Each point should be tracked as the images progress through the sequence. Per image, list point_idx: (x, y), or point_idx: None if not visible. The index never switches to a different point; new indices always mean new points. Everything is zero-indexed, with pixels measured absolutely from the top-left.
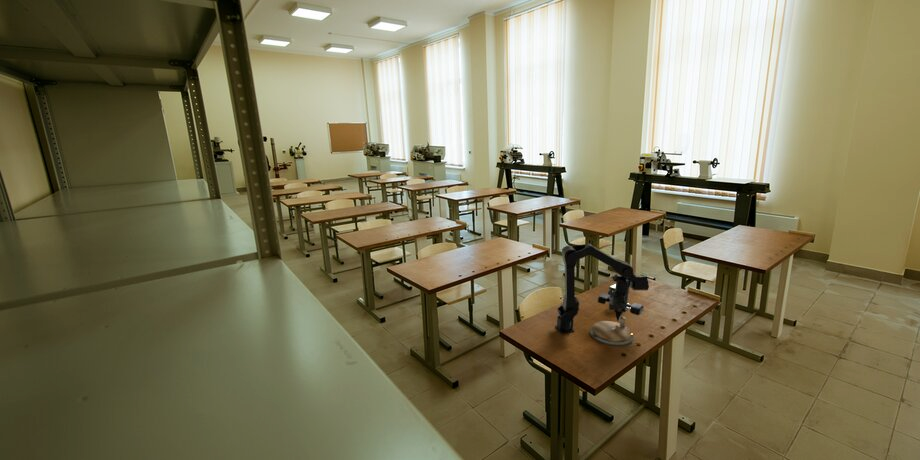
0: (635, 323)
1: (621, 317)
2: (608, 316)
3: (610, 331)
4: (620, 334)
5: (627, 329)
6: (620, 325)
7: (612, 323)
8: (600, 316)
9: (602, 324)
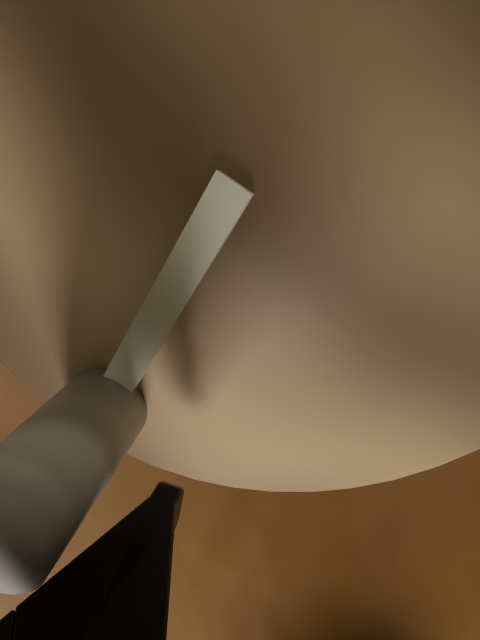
0: (74, 554)
1: (27, 560)
2: (359, 622)
3: (253, 53)
4: (24, 29)
5: (3, 320)
6: (122, 390)
7: (272, 430)
8: (459, 608)
9: (466, 324)
